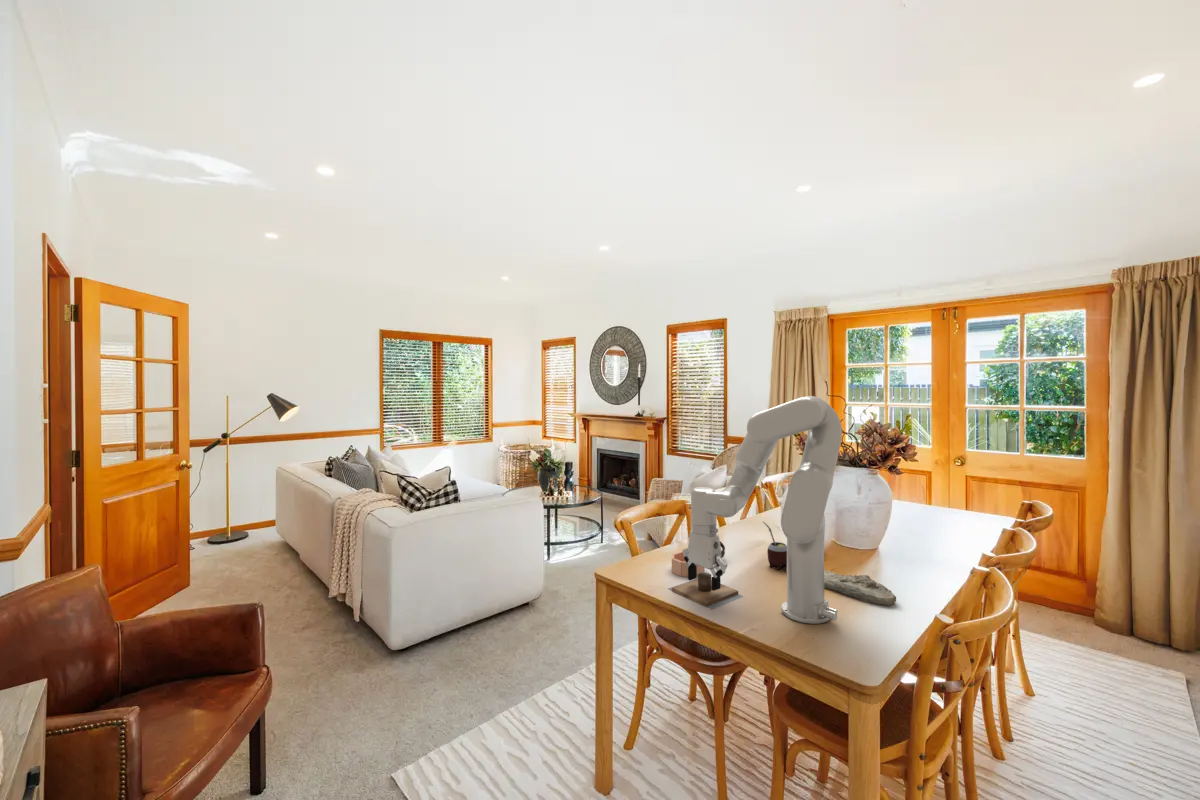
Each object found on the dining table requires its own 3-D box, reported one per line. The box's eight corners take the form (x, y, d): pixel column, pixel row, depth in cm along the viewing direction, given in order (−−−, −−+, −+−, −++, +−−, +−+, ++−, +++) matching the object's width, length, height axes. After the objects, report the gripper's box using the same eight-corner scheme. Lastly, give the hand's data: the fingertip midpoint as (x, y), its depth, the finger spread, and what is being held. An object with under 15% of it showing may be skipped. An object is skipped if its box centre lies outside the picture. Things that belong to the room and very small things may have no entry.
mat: (743, 597, 148) (743, 596, 148) (711, 610, 140) (711, 609, 140) (699, 579, 162) (699, 577, 162) (667, 590, 154) (667, 588, 154)
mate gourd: (791, 571, 168) (791, 527, 167) (767, 570, 168) (767, 527, 168) (785, 563, 175) (785, 521, 175) (762, 563, 176) (762, 521, 176)
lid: (738, 594, 149) (738, 576, 149) (706, 606, 141) (705, 588, 141) (703, 579, 161) (703, 563, 161) (672, 590, 153) (671, 573, 153)
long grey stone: (797, 570, 172) (779, 579, 167) (796, 555, 172) (778, 563, 167) (904, 600, 143) (886, 611, 138) (902, 582, 143) (884, 592, 137)
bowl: (710, 572, 168) (710, 557, 168) (688, 580, 162) (687, 565, 162) (687, 563, 177) (687, 549, 177) (665, 570, 171) (665, 556, 170)
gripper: (734, 533, 146) (734, 590, 146) (691, 520, 160) (692, 572, 160) (717, 537, 141) (717, 597, 142) (674, 524, 155) (675, 578, 156)
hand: (703, 584), depth 151 cm, fingers open, 9 cm apart
